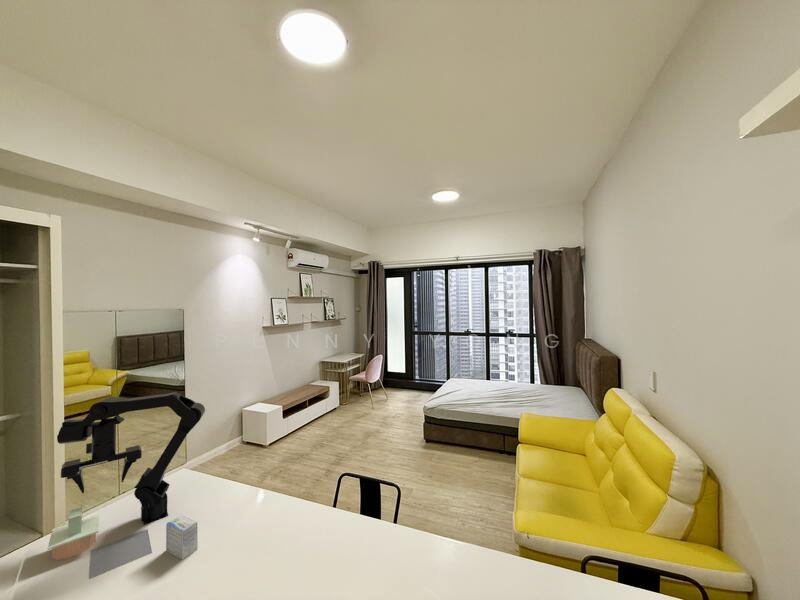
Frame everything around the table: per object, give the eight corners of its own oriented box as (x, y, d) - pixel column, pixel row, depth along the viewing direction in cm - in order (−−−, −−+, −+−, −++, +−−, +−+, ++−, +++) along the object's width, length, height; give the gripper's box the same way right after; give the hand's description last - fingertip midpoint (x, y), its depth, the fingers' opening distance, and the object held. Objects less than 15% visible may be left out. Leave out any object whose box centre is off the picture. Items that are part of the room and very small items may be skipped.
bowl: (96, 533, 100) (96, 517, 100) (95, 549, 93) (95, 532, 94) (54, 547, 94) (54, 530, 94) (50, 566, 87) (50, 548, 87)
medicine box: (198, 550, 93) (198, 521, 93) (182, 562, 89) (182, 530, 89) (181, 542, 96) (181, 513, 97) (165, 552, 92) (165, 522, 93)
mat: (147, 530, 101) (147, 529, 101) (152, 554, 92) (152, 552, 92) (90, 552, 92) (90, 550, 92) (89, 580, 83) (89, 579, 83)
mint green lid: (98, 515, 101) (99, 498, 101) (98, 532, 93) (98, 513, 93) (52, 530, 94) (52, 512, 94) (47, 550, 87) (47, 529, 87)
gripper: (139, 424, 115) (138, 467, 115) (64, 438, 103) (63, 487, 102) (142, 433, 107) (141, 480, 107) (61, 450, 94) (60, 503, 94)
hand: (103, 486), depth 103 cm, fingers open, 9 cm apart
